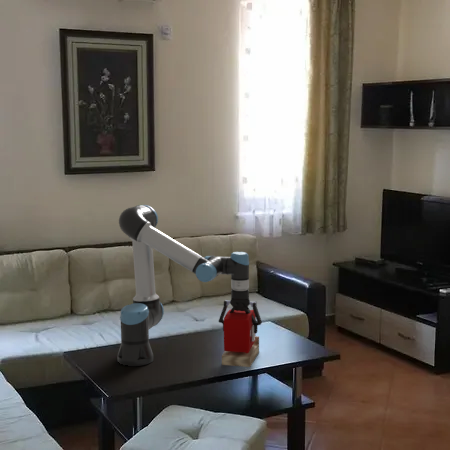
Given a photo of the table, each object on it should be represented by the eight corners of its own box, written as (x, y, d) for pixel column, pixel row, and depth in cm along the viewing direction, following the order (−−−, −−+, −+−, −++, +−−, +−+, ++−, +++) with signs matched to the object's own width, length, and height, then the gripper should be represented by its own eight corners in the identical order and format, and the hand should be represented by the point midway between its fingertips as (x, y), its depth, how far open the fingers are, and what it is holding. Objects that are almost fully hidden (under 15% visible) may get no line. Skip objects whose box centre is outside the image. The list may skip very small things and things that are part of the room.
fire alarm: (249, 353, 284) (249, 318, 282) (223, 351, 286) (223, 316, 284) (255, 341, 300) (255, 307, 298) (231, 340, 302) (231, 306, 300)
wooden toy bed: (221, 364, 287) (221, 348, 286) (232, 349, 306) (232, 334, 305) (250, 367, 284) (250, 350, 283) (259, 351, 303) (259, 336, 302)
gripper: (210, 289, 289) (211, 340, 292) (265, 292, 283) (265, 344, 286) (215, 285, 296) (215, 335, 299) (269, 288, 290) (268, 338, 293)
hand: (240, 339), depth 292 cm, fingers closed on fire alarm, 11 cm apart
